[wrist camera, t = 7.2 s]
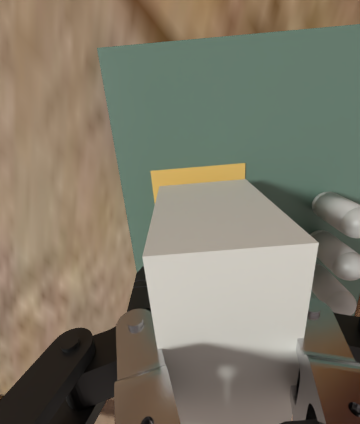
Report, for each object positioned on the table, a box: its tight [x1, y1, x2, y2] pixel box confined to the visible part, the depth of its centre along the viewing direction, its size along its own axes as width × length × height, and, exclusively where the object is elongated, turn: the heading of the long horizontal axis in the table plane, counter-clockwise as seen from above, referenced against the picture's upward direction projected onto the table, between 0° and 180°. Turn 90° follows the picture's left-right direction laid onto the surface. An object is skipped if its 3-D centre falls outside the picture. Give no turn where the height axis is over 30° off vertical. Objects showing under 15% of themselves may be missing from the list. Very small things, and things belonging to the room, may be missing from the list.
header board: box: [97, 24, 360, 316], centre depth 13 cm, size 20×14×5 cm
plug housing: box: [142, 179, 319, 424], centre depth 10 cm, size 8×4×6 cm, turn 5°
